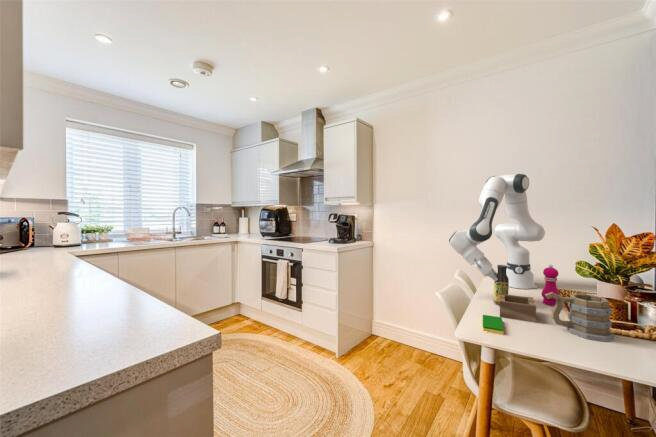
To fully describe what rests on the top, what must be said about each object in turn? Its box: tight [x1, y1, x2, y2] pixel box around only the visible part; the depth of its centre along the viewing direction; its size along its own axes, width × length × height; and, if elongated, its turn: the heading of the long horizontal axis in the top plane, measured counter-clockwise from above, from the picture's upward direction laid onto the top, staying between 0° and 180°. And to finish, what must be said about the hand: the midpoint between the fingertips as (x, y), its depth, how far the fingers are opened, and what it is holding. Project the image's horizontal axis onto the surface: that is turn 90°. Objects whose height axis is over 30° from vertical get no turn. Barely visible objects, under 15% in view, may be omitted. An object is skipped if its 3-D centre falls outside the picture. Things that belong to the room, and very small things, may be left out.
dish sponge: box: [482, 314, 505, 335], centre depth 114 cm, size 7×14×2 cm, turn 150°
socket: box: [499, 294, 537, 324], centre depth 125 cm, size 13×13×7 cm
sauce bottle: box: [493, 264, 510, 306], centre depth 139 cm, size 7×6×20 cm
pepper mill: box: [541, 264, 561, 307], centre depth 136 cm, size 7×7×20 cm
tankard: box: [545, 292, 615, 342], centre depth 107 cm, size 20×13×15 cm, turn 64°
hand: (496, 277), depth 139 cm, fingers open, 8 cm apart
